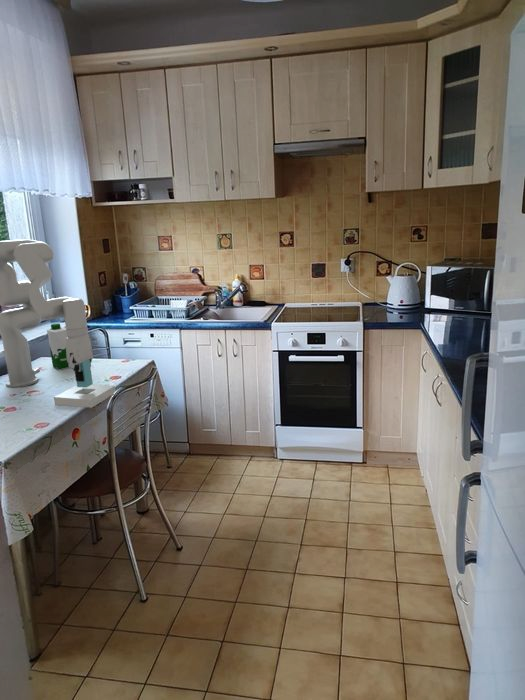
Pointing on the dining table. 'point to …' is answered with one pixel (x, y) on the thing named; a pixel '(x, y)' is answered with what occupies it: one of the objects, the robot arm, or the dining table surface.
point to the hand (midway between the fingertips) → (83, 378)
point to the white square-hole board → (84, 395)
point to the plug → (85, 374)
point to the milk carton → (58, 346)
